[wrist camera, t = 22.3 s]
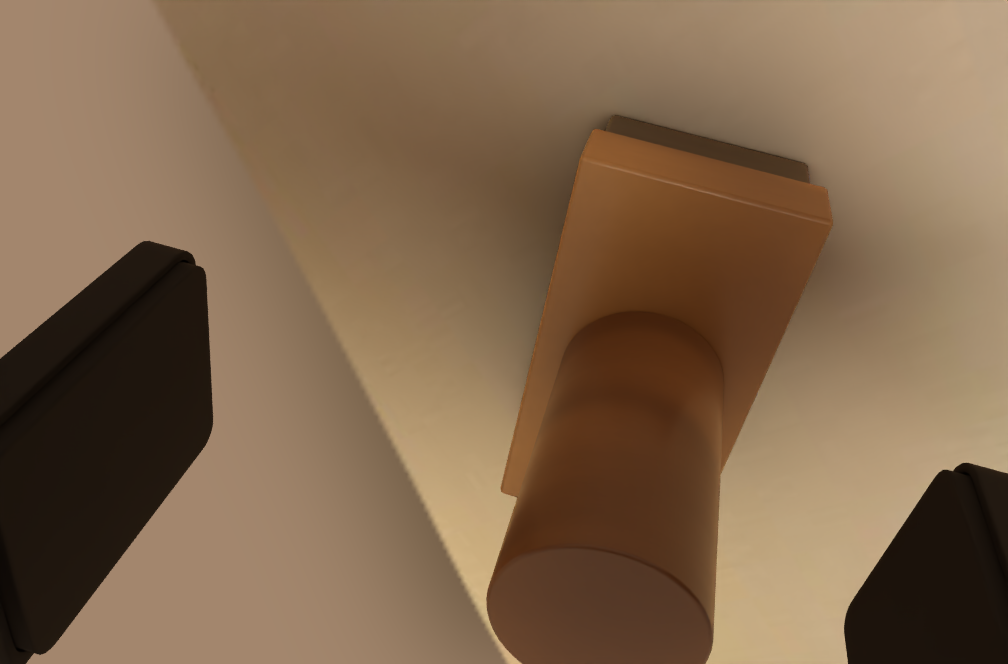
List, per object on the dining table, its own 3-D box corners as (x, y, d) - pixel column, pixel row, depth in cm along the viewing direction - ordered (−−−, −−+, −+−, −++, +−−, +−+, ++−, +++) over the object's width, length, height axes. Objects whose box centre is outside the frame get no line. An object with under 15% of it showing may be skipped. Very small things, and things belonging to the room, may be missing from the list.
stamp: (527, 413, 22) (414, 734, 15) (604, 101, 17) (494, 348, 10) (694, 462, 21) (665, 819, 14) (823, 156, 17) (880, 460, 9)
